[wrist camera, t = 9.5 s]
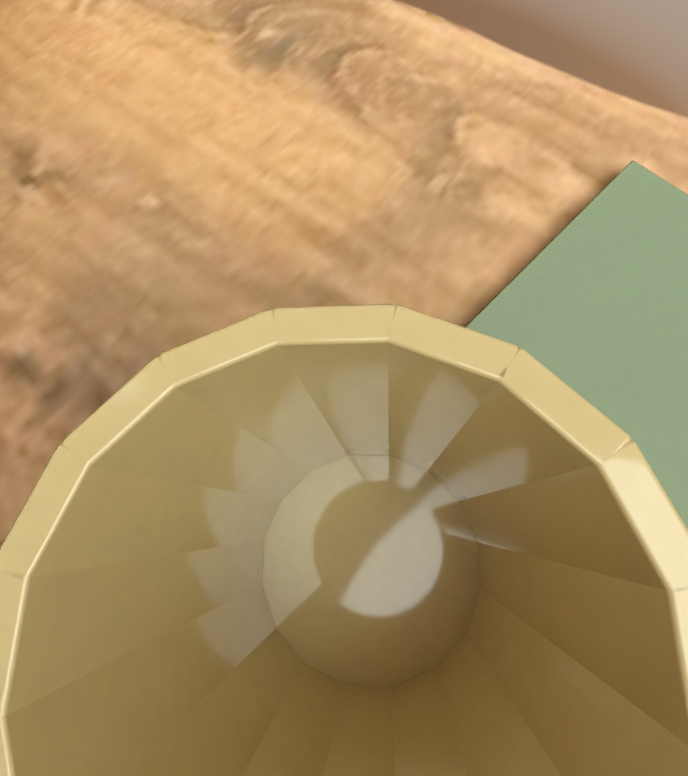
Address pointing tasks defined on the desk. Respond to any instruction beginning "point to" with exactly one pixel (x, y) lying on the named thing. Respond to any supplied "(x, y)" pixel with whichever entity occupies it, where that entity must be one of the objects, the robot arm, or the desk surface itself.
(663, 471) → the desk pad
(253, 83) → the desk surface
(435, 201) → the desk surface
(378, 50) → the desk surface
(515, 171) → the desk surface
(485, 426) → the pencil cup
